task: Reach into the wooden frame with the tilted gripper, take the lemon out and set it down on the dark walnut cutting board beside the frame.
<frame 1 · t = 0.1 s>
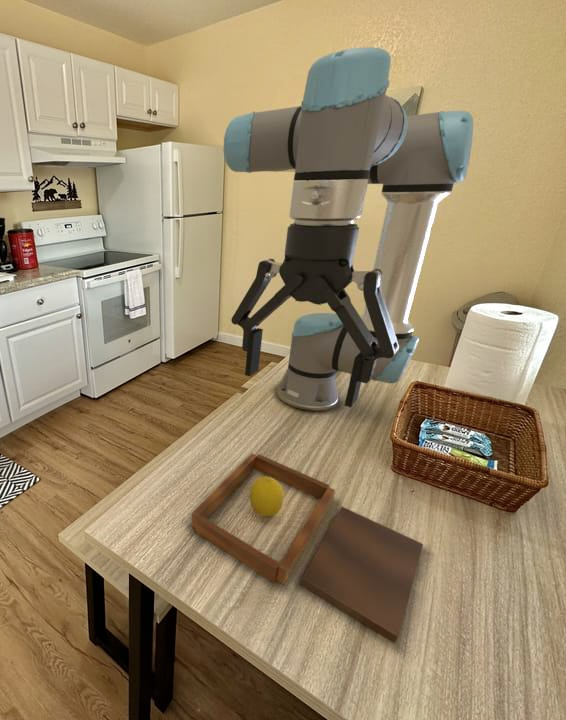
hand: (297, 386, 52), 28 cm above the table, tool pointing down, fingers open, 13 cm apart
cutting board: (362, 567, 58), on the table
lemon: (263, 514, 68), resting in wooden frame
wooden frame: (264, 514, 68), on the table
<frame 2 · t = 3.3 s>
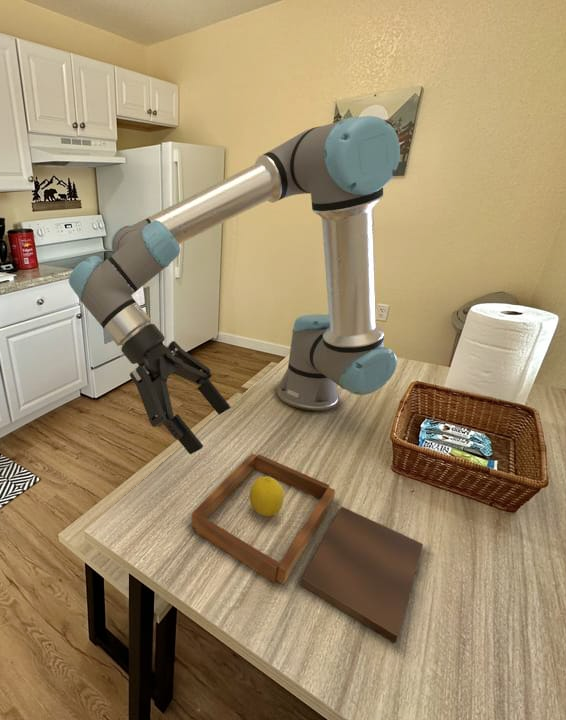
hand: (212, 429, 67), 15 cm above the table, tool tilted 45°, fingers open, 13 cm apart
nothing on the table moved.
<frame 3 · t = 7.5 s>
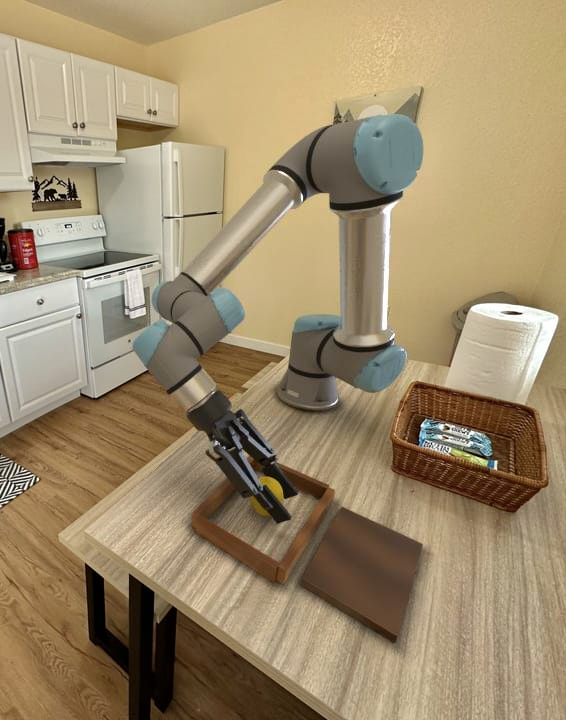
hand: (288, 507, 65), 3 cm above the table, tool tilted 45°, fingers closed on lemon, 5 cm apart
lemon: (263, 514, 68), resting in wooden frame, touching gripper
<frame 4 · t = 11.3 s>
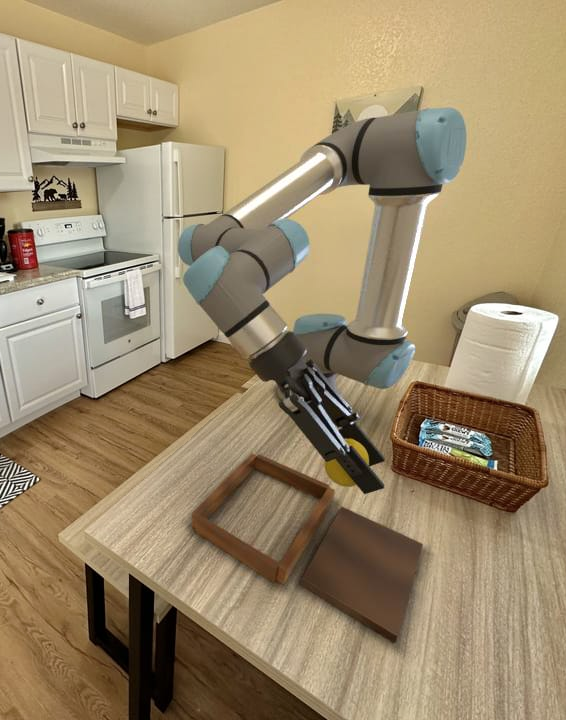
hand: (374, 475, 53), 16 cm above the table, tool tilted 45°, fingers closed on lemon, 5 cm apart
lemon: (340, 486, 56), point 13 cm above the table, touching gripper
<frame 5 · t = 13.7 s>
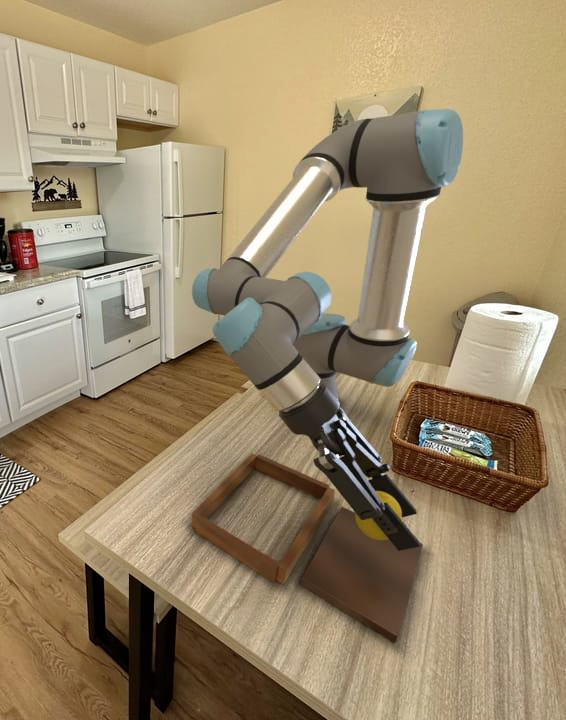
hand: (407, 529, 52), 10 cm above the table, tool tilted 45°, fingers closed on lemon, 5 cm apart
lemon: (371, 537, 56), point 6 cm above the table, touching gripper
when the fingers open (5 cm above the table, at t = 15.4 s): lemon stays where it is, resting on cutting board.
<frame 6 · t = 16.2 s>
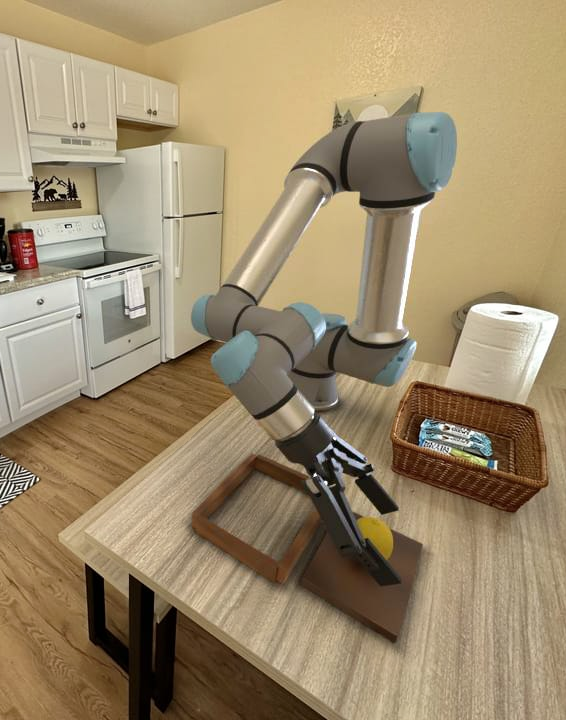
hand: (390, 543, 54), 6 cm above the table, tool tilted 45°, fingers open, 13 cm apart
lemon: (364, 561, 58), point 1 cm above the table, touching cutting board
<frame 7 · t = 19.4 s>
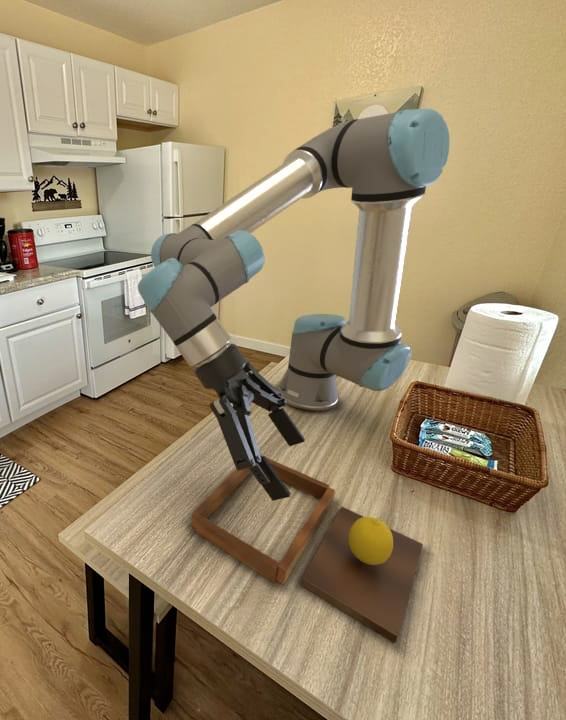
hand: (290, 467, 59), 13 cm above the table, tool tilted 40°, fingers open, 13 cm apart
nothing on the table moved.
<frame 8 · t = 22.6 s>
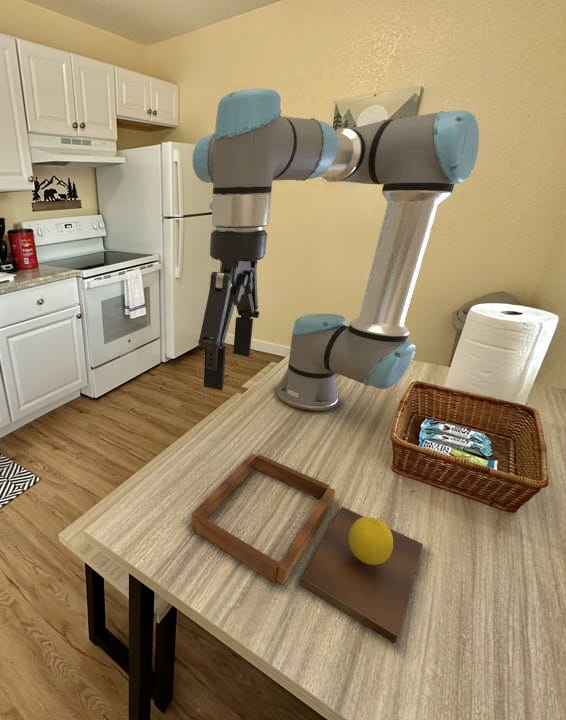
hand: (228, 369, 61), 27 cm above the table, tool pointing down, fingers open, 13 cm apart
nothing on the table moved.
at the end: lemon inside the target area on the cutting board (0.1 cm from its centre), point 1.3 cm above the cutting board's base; the gripper is holding nothing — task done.
